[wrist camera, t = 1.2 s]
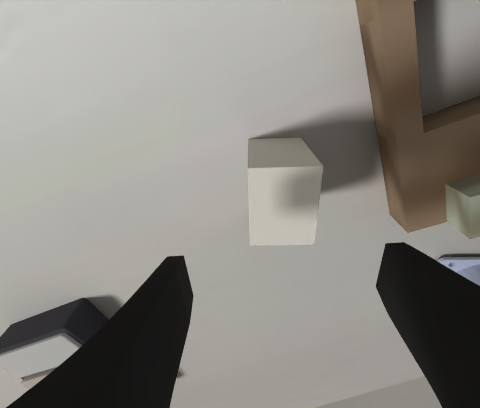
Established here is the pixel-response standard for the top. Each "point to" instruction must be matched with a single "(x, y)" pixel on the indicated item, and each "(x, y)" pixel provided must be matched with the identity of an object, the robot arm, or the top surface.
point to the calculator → (48, 340)
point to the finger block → (283, 191)
